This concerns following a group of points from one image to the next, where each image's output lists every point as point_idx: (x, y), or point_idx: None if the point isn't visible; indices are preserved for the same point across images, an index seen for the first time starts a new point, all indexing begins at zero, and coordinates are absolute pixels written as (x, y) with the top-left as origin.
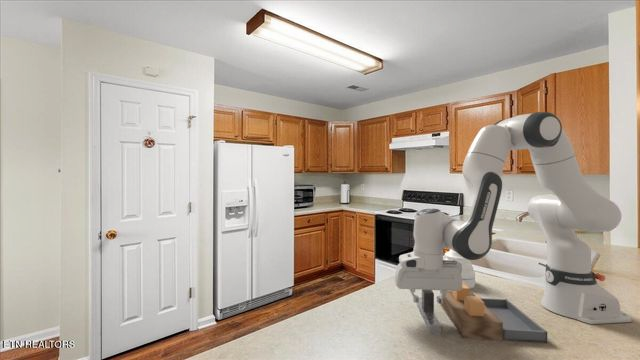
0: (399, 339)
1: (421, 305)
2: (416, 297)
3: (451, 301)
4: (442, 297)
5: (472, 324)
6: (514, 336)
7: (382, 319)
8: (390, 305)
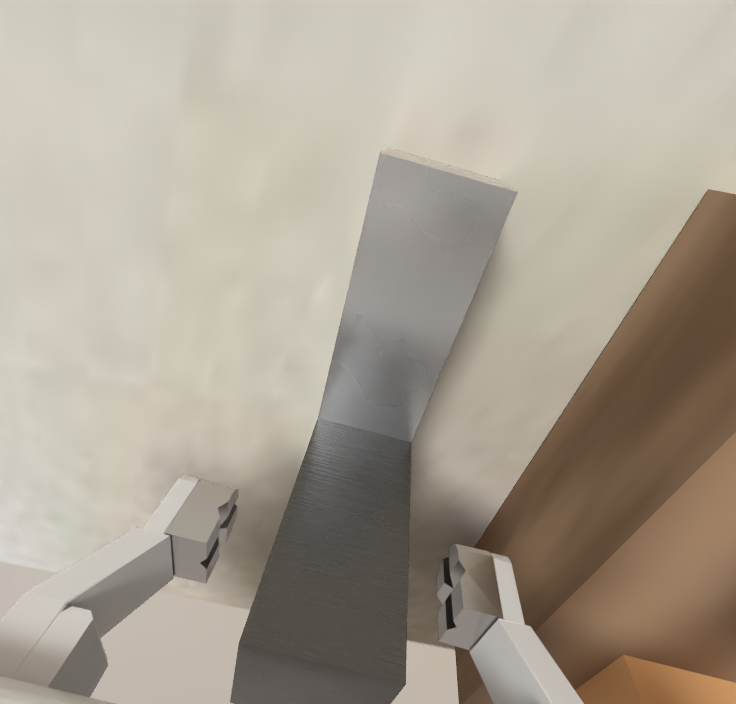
0: (127, 529)
1: (333, 387)
2: (177, 576)
3: (651, 558)
4: (489, 677)
5: None
6: None
7: (19, 364)
8: (64, 119)
